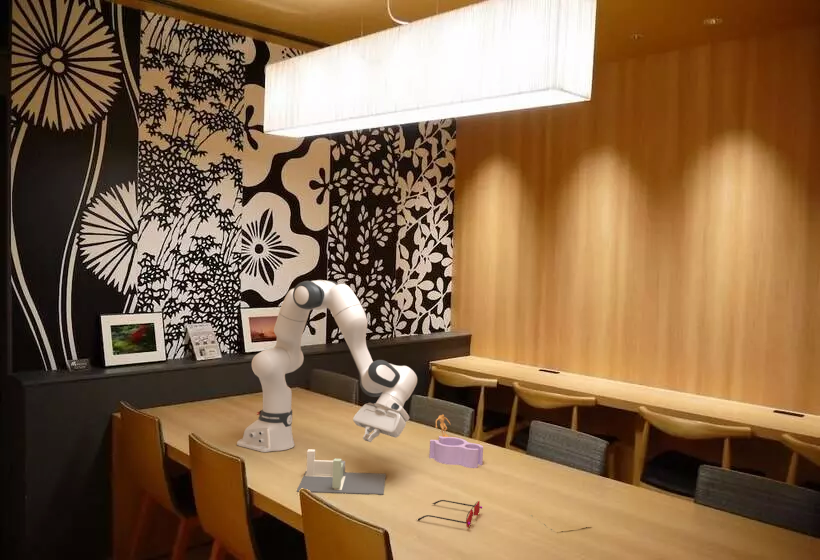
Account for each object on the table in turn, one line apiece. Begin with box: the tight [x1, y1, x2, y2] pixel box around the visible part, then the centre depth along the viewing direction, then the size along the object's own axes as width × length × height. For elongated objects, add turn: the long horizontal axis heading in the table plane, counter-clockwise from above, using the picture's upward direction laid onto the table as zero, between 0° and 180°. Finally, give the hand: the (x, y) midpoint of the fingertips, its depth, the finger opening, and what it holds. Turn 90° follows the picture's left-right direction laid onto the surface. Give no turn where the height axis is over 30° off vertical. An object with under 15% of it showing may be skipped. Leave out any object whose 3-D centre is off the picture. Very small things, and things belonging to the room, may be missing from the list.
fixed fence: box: [306, 448, 333, 477], centre depth 231 cm, size 11×2×9 cm, turn 90°
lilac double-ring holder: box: [428, 435, 484, 469], centre depth 254 cm, size 20×12×7 cm, turn 56°
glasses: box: [417, 499, 483, 528], centre depth 201 cm, size 14×16×5 cm
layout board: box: [296, 470, 387, 496], centre depth 226 cm, size 28×19×1 cm
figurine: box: [435, 414, 451, 437], centre depth 275 cm, size 8×6×12 cm
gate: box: [332, 458, 346, 488], centre depth 225 cm, size 14×2×9 cm, turn 178°
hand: (366, 440), depth 228 cm, fingers closed
